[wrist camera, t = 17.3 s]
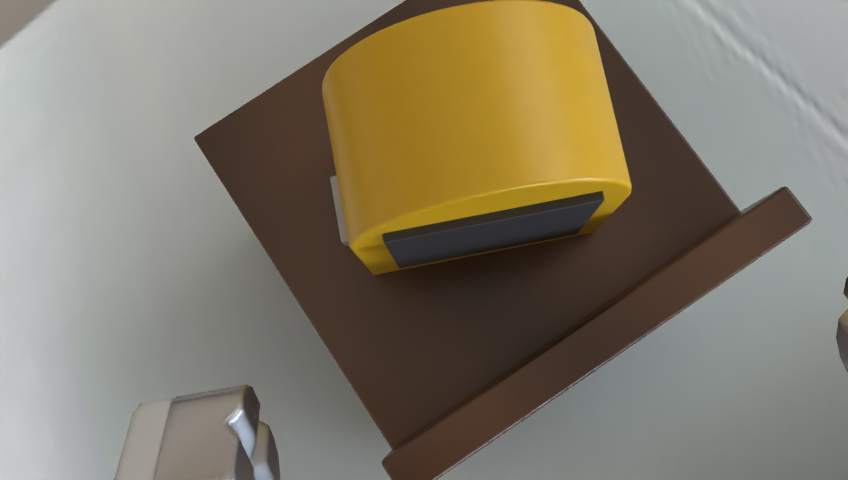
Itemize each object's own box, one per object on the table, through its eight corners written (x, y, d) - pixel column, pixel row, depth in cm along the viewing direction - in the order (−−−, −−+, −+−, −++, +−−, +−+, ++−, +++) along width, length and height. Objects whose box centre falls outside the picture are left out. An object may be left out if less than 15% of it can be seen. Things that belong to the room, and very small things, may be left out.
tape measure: (565, 96, 22) (615, -39, 15) (597, 239, 21) (668, 170, 14) (327, 143, 22) (261, 32, 15) (351, 287, 21) (295, 242, 14)
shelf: (503, 60, 32) (531, -144, 20) (667, 284, 31) (815, 219, 18) (275, 210, 32) (150, 99, 19) (429, 447, 30) (404, 502, 17)
